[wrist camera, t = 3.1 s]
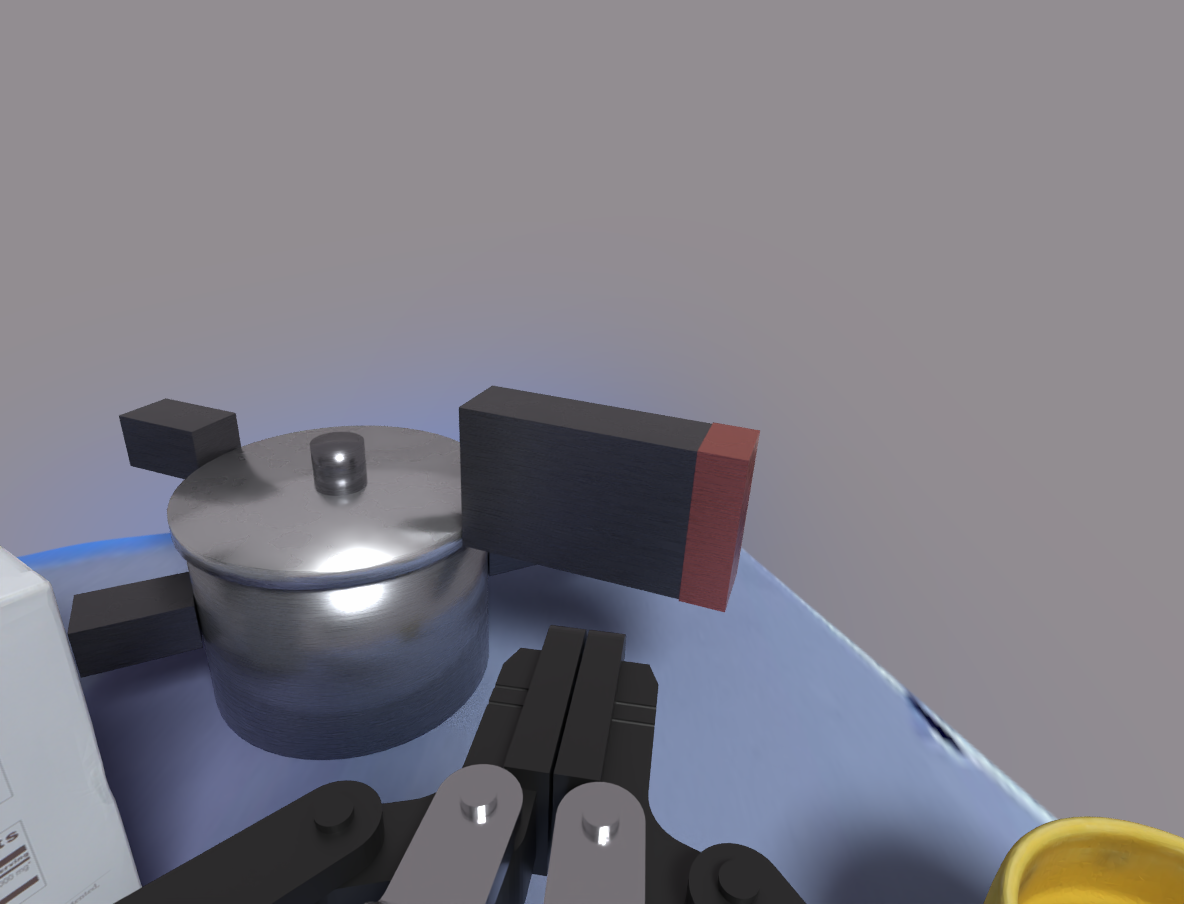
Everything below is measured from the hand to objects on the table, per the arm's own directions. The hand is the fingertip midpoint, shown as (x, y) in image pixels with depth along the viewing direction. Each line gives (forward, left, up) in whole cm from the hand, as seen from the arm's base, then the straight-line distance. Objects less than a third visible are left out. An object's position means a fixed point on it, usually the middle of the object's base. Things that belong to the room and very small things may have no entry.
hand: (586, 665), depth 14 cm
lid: (-13, +19, -9) cm, 24 cm away
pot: (-14, +21, -19) cm, 32 cm away
